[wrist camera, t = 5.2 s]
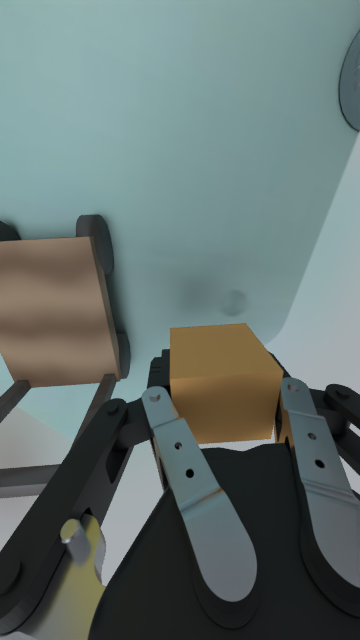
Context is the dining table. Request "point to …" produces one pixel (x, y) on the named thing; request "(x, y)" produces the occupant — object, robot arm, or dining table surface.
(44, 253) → the trolley
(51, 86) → the dining table surface
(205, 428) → the block
